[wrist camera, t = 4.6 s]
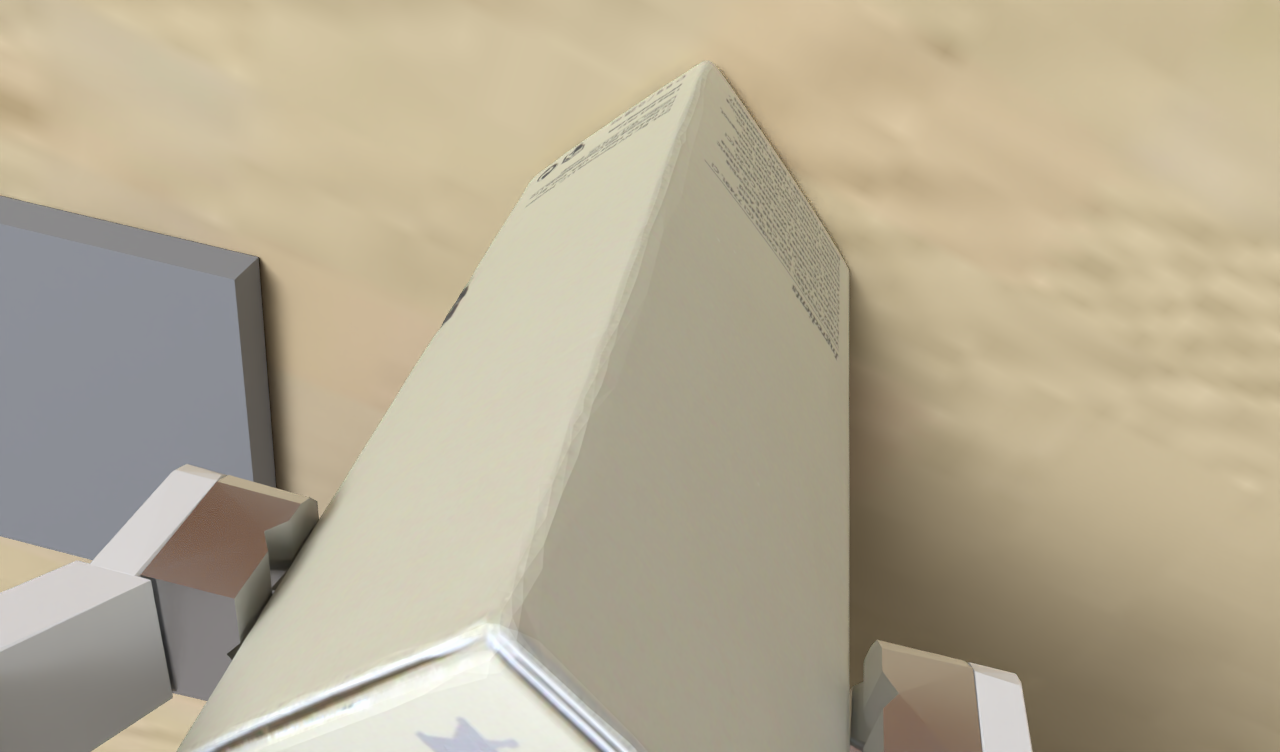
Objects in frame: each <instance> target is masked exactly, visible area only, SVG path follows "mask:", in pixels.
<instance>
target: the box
mask: <svg viewBox="0 0 1280 752" xmlns="http://www.w3.org/2000/svg"><path fill="white" fill-rule="evenodd" d="M849 280H850V277H849V269H848V267H847V265H846V263H845V261H844V259H843V258H842V256H841V254H840V253H839V251H838V249H837V247H836V246H835V244H834V243H833V241H832V239H831V238H830V236H829V234H828V233H827V231H826V229H825V228H824V226H823V225H822V223H821V221H820V220H819V218H818V217H817V215H816V214H815V212H814V210H813V209H812V207H811V206H810V204H809V203H808V201H807V199H806V198H805V196H804V195H803V193H802V192H801V190H800V189H799V187H798V185H797V184H796V182H795V181H794V179H793V178H792V176H791V175H790V173H789V172H788V170H787V169H786V167H785V165H784V164H783V162H782V161H781V159H780V158H779V156H778V155H777V153H776V152H775V151H774V149H773V148H772V146H771V145H770V143H769V142H768V140H767V139H766V137H765V136H764V134H763V133H762V131H761V130H760V128H759V127H758V125H757V124H756V122H755V121H754V119H753V118H752V116H751V115H750V114H749V112H748V111H747V109H746V108H745V106H744V105H743V103H742V102H741V101H740V99H739V98H738V96H737V95H736V93H735V92H734V90H733V89H732V87H731V86H730V85H729V83H728V82H727V80H726V79H725V78H724V76H723V75H722V73H721V72H720V71H719V69H718V68H717V66H715V65H714V64H713V63H712V62H710V61H703V62H701V63H699V64H698V65H696V66H694V67H693V68H691V69H690V70H689V71H687V72H686V73H684V74H683V75H681V76H679V77H678V78H676V79H675V80H673V81H672V82H670V83H668V84H667V85H665V86H664V87H662V88H661V89H659V90H658V91H656V92H655V93H653V94H651V95H650V96H648V97H647V98H645V99H644V100H642V101H641V102H639V103H638V104H636V105H635V106H633V107H632V108H630V109H629V110H627V111H626V112H624V113H623V114H621V115H620V116H619V117H617V118H616V119H614V120H613V121H612V122H610V123H609V124H607V125H606V126H604V127H603V128H601V129H600V130H599V131H597V132H596V133H594V134H593V135H591V136H590V137H588V138H587V139H585V140H584V141H582V142H581V143H579V144H578V145H577V146H575V147H574V148H572V149H571V150H569V151H568V152H567V153H565V154H564V155H563V156H561V157H560V158H559V159H557V160H556V161H555V162H554V163H552V164H551V165H549V166H548V167H547V168H545V169H544V170H542V171H541V172H540V173H539V174H537V175H536V176H535V177H534V178H533V179H532V180H531V181H530V183H529V184H528V186H527V188H526V189H525V191H524V193H523V195H522V196H521V198H520V199H519V201H518V202H517V204H516V205H515V207H514V209H513V210H512V212H511V213H510V215H509V217H508V218H507V220H506V221H505V223H504V225H503V226H502V228H501V229H500V231H499V232H498V234H497V236H496V237H495V239H494V240H493V242H492V244H491V245H490V247H489V249H488V250H487V252H486V254H485V255H484V257H483V259H482V260H481V262H480V263H479V265H478V266H477V268H476V270H475V272H474V273H473V275H472V277H471V279H470V280H469V282H468V283H467V285H466V286H465V288H464V289H463V291H462V293H461V294H460V296H459V298H458V300H457V301H456V303H455V304H454V305H453V307H452V308H451V310H450V311H449V313H448V314H447V316H446V318H445V320H444V322H443V324H442V326H441V328H440V329H439V331H438V332H437V333H436V334H435V336H434V337H433V339H432V340H431V342H430V343H429V345H428V346H427V348H426V349H425V351H424V353H423V354H422V356H421V357H420V359H419V360H418V362H417V364H416V365H415V367H414V368H413V370H412V371H411V373H410V375H409V376H408V378H407V380H406V381H405V383H404V385H403V386H402V388H401V389H400V391H399V393H398V394H397V396H396V398H395V399H394V401H393V403H392V404H391V406H390V407H389V409H388V411H387V412H386V414H385V416H384V417H383V419H382V420H381V422H380V424H379V425H378V427H377V428H376V430H375V432H374V433H373V435H372V436H371V438H370V439H369V441H368V443H367V444H366V446H365V447H364V449H363V450H362V452H361V454H360V455H359V457H358V459H357V460H356V462H355V463H354V465H353V467H352V468H351V470H350V472H349V473H348V475H347V476H346V478H345V480H344V481H343V483H342V485H341V486H340V488H339V489H338V491H337V492H336V494H335V496H334V497H333V499H332V500H331V502H330V503H329V505H328V506H327V508H326V509H325V511H324V513H323V514H322V516H321V517H320V519H319V521H318V522H317V524H316V525H315V527H314V529H313V530H312V532H311V534H310V535H309V537H308V538H307V540H306V542H305V543H304V545H303V546H302V548H301V550H300V551H299V553H298V555H297V556H296V558H295V560H294V561H293V563H292V565H291V566H290V568H289V570H288V571H287V573H286V574H285V576H284V577H283V579H282V581H281V582H280V584H279V585H278V587H277V588H276V590H275V591H274V593H273V595H272V596H271V598H270V599H269V601H268V603H267V604H266V606H265V608H264V609H263V611H262V612H261V614H260V616H259V618H258V620H257V622H256V623H255V625H254V626H253V628H252V629H251V631H250V632H249V634H248V635H247V637H246V639H245V640H244V642H243V643H242V645H241V647H240V648H239V650H238V652H237V653H236V655H235V657H234V658H233V660H232V662H231V663H230V665H229V667H228V668H227V670H226V672H225V673H224V675H223V677H222V678H221V680H220V682H219V683H218V685H217V686H216V688H215V690H214V691H213V693H212V694H211V696H210V698H209V699H208V701H207V702H206V704H205V706H204V707H203V709H202V711H201V712H200V714H199V715H198V717H197V719H196V720H195V722H194V723H193V725H192V727H191V728H190V730H189V732H188V733H187V735H186V737H185V738H184V740H183V742H182V743H181V745H180V746H179V748H178V750H177V751H176V752H850V684H849Z"/></svg>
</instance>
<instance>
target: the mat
mask: <svg viewBox="0 0 1280 752" xmlns="http://www.w3.org/2000/svg"><path fill="white" fill-rule="evenodd" d="M186 464H189V465H192V466H196V467H200V468H203V469H207V470H210V471H214V472H218V473H221V474H225V475H231V476H234V477H238V478H242V479H245V480H249V481H252V482H256V483H260V484H263V485H267V486H270V487H274V488H276V479H275V466H274V453H273V440H272V427H271V414H270V401H269V388H268V375H267V362H266V349H265V336H264V323H263V310H262V297H261V284H260V271H259V258H258V257H255V256H251V255H247V254H243V253H239V252H234V251H230V250H226V249H222V248H218V247H213V246H209V245H205V244H201V243H197V242H192V241H188V240H184V239H180V238H176V237H171V236H167V235H163V234H159V233H155V232H150V231H146V230H142V229H138V228H133V227H129V226H125V225H121V224H117V223H112V222H108V221H104V220H100V219H96V218H91V217H87V216H83V215H79V214H75V213H70V212H66V211H62V210H58V209H54V208H49V207H45V206H41V205H37V204H33V203H28V202H24V201H20V200H16V199H12V198H7V197H3V196H0V536H2V537H6V538H9V539H13V540H17V541H21V542H25V543H29V544H33V545H36V546H40V547H44V548H48V549H52V550H56V551H60V552H63V553H67V554H71V555H75V556H79V557H83V558H87V559H90V560H93V559H94V558H95V557H96V556H97V555H98V554H99V553H100V552H101V550H102V549H103V548H104V547H105V546H106V545H107V544H108V543H109V542H110V540H111V539H112V538H113V537H114V536H115V535H116V534H117V533H118V531H119V530H120V529H121V528H122V527H123V526H124V525H125V524H126V523H127V521H128V520H129V519H130V518H131V517H132V516H133V515H134V514H135V512H136V511H137V510H138V509H139V508H140V507H141V506H142V505H143V504H144V502H145V501H146V500H147V499H148V498H149V497H150V496H151V495H152V493H153V492H154V491H155V490H156V489H157V488H158V487H159V486H160V485H161V483H162V482H163V481H164V480H165V479H166V478H167V477H168V476H169V475H170V473H171V472H173V471H174V470H176V469H178V468H180V467H182V466H184V465H186Z"/></svg>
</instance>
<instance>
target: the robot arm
mask: <svg viewBox="0 0 1280 752" xmlns="http://www.w3.org/2000/svg"><path fill="white" fill-rule="evenodd" d="M318 521H319V516H318V505H317V501H315V500H313V499H312V498H310V497H306V496H302V495H299V494H295V493H292V492H288V491H285V490H281V489H277V488H274V487H270V486H267V485H263V484H260V483H256V482H252V481H249V480H245V479H242V478H238V477H234V476H231V475H225V474H221V473H218V472H214V471H210V470H207V469H203V468H200V467H196V466H192V465H189V464H186V465H184V466H182V467H180V468H178V469H176V470H174V471H173V472H171V473H170V475H169V476H168V477H167V478H166V479H165V480H164V481H163V482H162V483H161V485H160V486H159V487H158V488H157V489H156V490H155V491H154V492H153V493H152V495H151V496H150V497H149V498H148V499H147V500H146V501H145V502H144V504H143V505H142V506H141V507H140V508H139V509H138V510H137V511H136V512H135V514H134V515H133V516H132V517H131V518H130V519H129V520H128V521H127V523H126V524H125V525H124V526H123V527H122V528H121V529H120V530H119V531H118V533H117V534H116V535H115V536H114V537H113V538H112V539H111V540H110V542H109V543H108V544H107V545H106V546H105V547H104V548H103V549H102V550H101V552H100V553H99V554H98V555H97V556H96V557H95V558H94V559H93V561H92V562H91V563H90V564H89V563H85V562H81V561H75V562H72V563H70V564H68V565H65V566H63V567H61V568H58V569H56V570H53V571H51V572H49V573H46V574H44V575H42V576H39V577H37V578H34V579H32V580H30V581H27V582H25V583H22V584H20V585H18V586H15V587H13V588H11V589H8V590H6V591H3V592H1V593H0V752H91V751H92V750H94V749H95V748H97V747H98V746H100V745H101V744H103V743H104V742H106V741H107V740H109V739H110V738H112V737H114V736H115V735H117V734H118V733H120V732H121V731H123V730H124V729H126V728H127V727H129V726H130V725H132V724H133V723H135V722H136V721H138V720H139V719H141V718H143V717H144V716H146V715H147V714H149V713H150V712H152V711H153V710H155V709H156V708H158V707H159V706H161V705H162V704H164V703H165V702H167V701H168V700H170V699H171V698H172V697H173V694H172V693H175V694H180V695H184V696H188V697H192V698H196V699H201V700H205V701H208V699H209V698H210V696H211V694H212V693H213V691H214V690H215V688H216V686H217V685H218V683H219V682H220V680H221V678H222V677H223V675H224V673H225V672H226V670H227V668H228V667H229V665H230V663H231V662H232V660H233V658H234V657H235V655H236V653H237V652H238V650H239V648H240V647H241V645H242V643H243V642H244V640H245V639H246V637H247V635H248V634H249V632H250V631H251V629H252V628H253V626H254V625H255V623H256V622H257V620H258V618H259V616H260V614H261V612H262V611H263V609H264V608H265V606H266V604H267V603H268V601H269V599H270V598H271V596H272V595H273V593H274V591H275V590H276V588H277V587H278V585H279V584H280V582H281V581H282V579H283V577H284V576H285V574H286V573H287V571H288V570H289V568H290V566H291V565H292V563H293V561H294V560H295V558H296V556H297V555H298V553H299V551H300V550H301V548H302V546H303V545H304V543H305V542H306V540H307V538H308V537H309V535H310V534H311V532H312V530H313V529H314V527H315V525H316V524H317V522H318ZM850 752H1033V750H1032V744H1031V738H1030V732H1029V726H1028V719H1027V713H1026V707H1025V701H1024V695H1023V689H1022V683H1021V681H1020V680H1019V678H1018V676H1017V675H1016V674H1015V673H1011V672H1007V671H1003V670H999V669H995V668H991V667H987V666H983V665H979V664H975V663H971V662H969V663H967V662H965V661H964V660H960V659H956V658H951V657H947V656H943V655H939V654H935V653H931V652H927V651H922V650H918V649H914V648H910V647H906V646H902V645H897V644H893V643H889V642H885V641H881V640H876V641H875V642H874V643H873V644H872V646H871V647H870V649H869V651H868V653H867V655H866V658H865V660H864V682H861V683H859V684H857V685H855V686H853V687H852V689H851V691H850Z"/></svg>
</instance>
